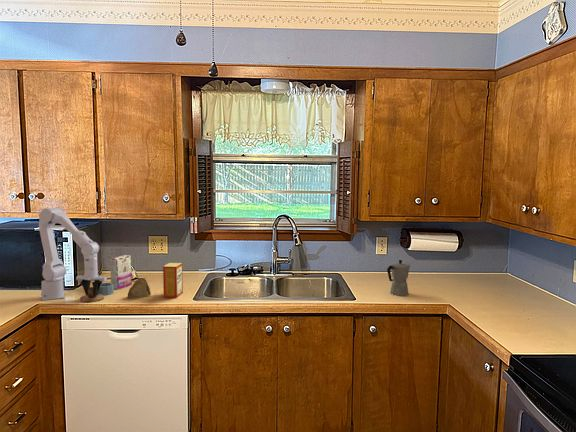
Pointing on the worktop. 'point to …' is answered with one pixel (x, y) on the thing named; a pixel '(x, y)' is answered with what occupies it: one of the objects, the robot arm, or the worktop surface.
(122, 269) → the candy bar box
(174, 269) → the baking soda box
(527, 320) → the worktop surface
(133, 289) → the rock
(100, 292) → the slate bowl
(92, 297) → the walnut lid
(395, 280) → the coffeepot
